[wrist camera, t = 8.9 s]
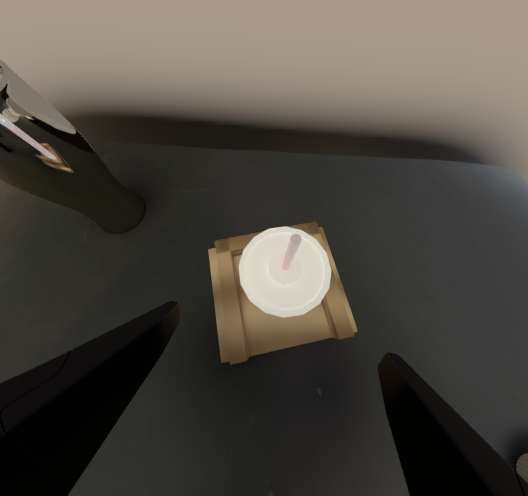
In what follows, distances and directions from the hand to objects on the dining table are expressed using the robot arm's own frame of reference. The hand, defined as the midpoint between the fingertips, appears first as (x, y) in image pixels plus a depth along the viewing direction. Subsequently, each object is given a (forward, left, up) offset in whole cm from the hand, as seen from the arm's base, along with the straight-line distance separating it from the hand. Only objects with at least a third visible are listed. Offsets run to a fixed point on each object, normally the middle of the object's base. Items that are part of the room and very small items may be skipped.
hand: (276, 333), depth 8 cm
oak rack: (+4, -2, -13) cm, 14 cm away
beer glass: (+18, +16, -13) cm, 28 cm away
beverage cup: (+3, -2, -12) cm, 13 cm away
